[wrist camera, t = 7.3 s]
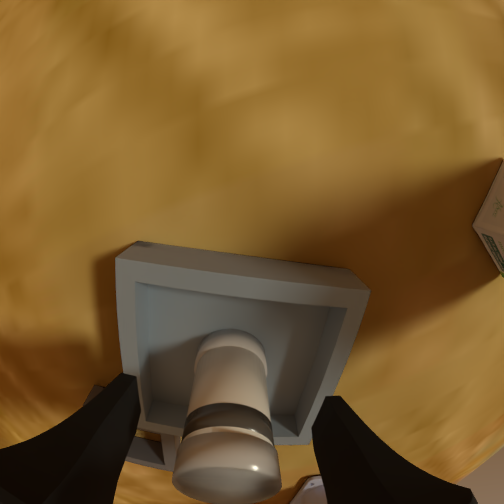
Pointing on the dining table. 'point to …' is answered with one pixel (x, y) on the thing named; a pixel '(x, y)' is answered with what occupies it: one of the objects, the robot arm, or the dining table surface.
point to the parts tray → (234, 317)
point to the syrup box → (493, 221)
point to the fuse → (228, 425)
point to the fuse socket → (149, 446)
